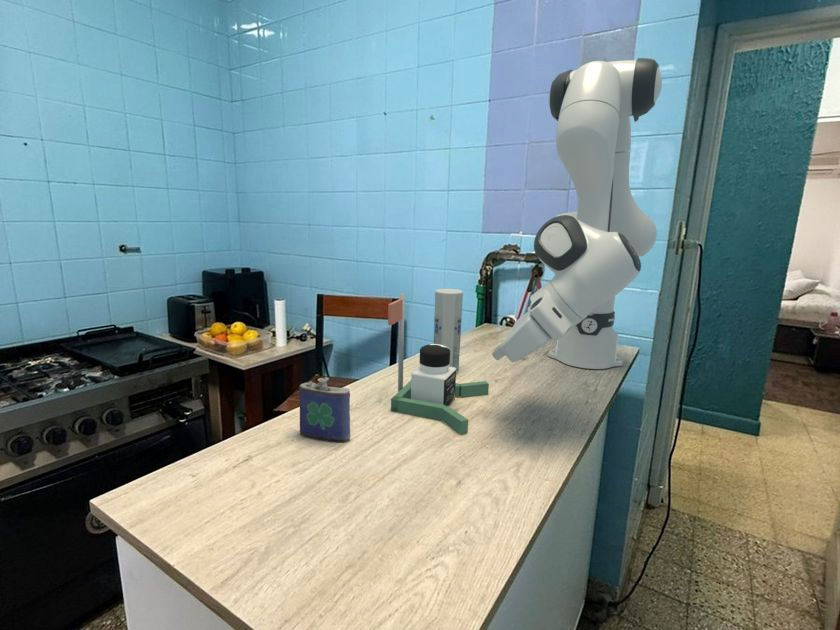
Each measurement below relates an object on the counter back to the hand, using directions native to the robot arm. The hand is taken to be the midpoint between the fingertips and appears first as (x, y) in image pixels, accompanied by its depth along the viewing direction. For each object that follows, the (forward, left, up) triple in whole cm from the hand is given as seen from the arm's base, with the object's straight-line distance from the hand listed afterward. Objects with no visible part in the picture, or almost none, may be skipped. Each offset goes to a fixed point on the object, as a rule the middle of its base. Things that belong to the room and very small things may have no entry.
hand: (495, 355), depth 84 cm
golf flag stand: (0, -11, -12) cm, 16 cm away
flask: (+20, -25, -12) cm, 34 cm away
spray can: (-19, -15, -12) cm, 27 cm away
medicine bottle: (0, -12, -12) cm, 17 cm away
